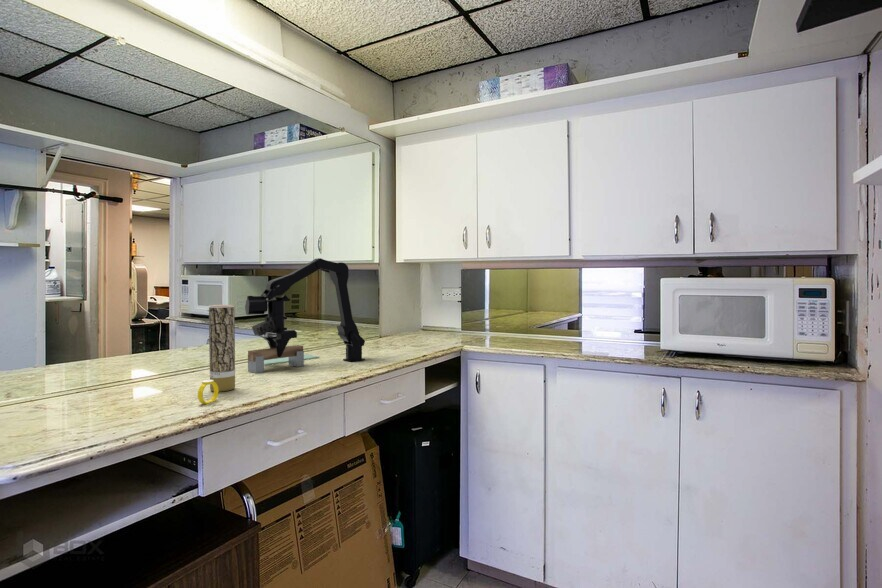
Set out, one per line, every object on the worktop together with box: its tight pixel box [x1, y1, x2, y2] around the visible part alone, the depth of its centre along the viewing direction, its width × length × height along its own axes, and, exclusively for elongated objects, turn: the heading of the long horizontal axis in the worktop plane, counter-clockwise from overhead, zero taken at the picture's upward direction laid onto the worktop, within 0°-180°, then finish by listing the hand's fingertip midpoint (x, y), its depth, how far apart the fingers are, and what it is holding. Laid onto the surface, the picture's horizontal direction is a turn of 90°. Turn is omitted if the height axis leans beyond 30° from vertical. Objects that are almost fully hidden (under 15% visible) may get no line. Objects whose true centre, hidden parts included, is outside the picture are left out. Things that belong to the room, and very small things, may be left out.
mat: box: [264, 354, 320, 366], centre depth 190 cm, size 9×24×1 cm, turn 139°
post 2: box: [288, 350, 305, 368], centre depth 179 cm, size 6×3×6 cm, turn 49°
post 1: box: [247, 356, 265, 374], centre depth 167 cm, size 6×3×6 cm, turn 49°
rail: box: [247, 344, 304, 362], centre depth 173 cm, size 4×20×4 cm, turn 139°
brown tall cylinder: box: [208, 304, 236, 392], centre depth 139 cm, size 7×7×25 cm
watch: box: [197, 379, 219, 405], centre depth 124 cm, size 6×3×6 cm, turn 164°
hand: (276, 356), depth 173 cm, fingers closed on rail, 3 cm apart
